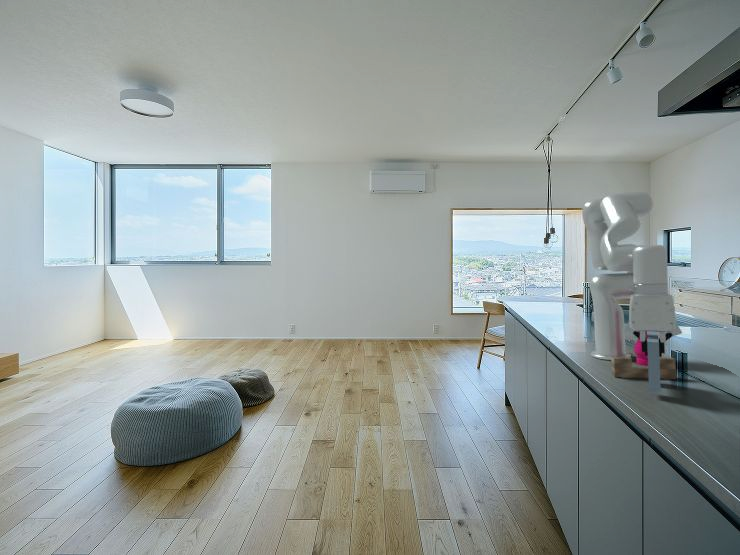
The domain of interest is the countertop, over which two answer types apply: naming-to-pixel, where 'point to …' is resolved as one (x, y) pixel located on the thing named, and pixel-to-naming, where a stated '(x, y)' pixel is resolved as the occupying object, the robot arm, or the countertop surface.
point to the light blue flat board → (653, 361)
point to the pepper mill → (640, 353)
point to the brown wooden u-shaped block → (642, 368)
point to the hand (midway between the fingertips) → (653, 354)
